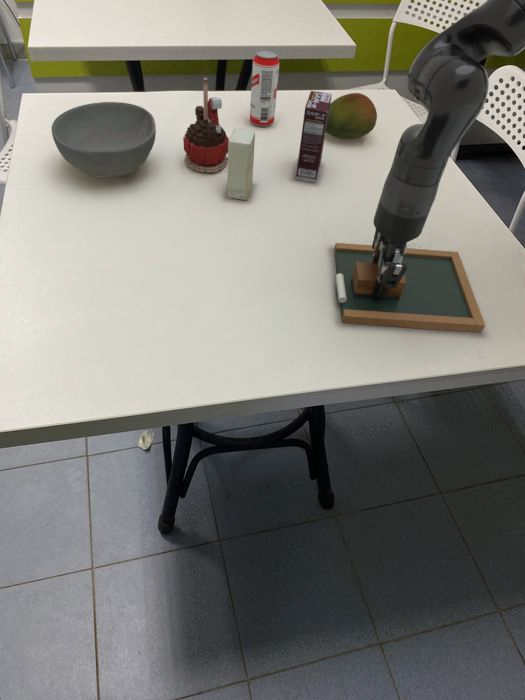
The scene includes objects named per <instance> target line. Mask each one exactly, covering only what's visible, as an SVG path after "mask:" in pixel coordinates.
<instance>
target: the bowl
mask: <svg viewBox="0 0 525 700" xmlns="http://www.w3.org/2000/svg"><path fill="white" fill-rule="evenodd" d="M156 128H157V127H156V122H155V118H154V116H153V114H152V113H151V112H149V111H148V110H147V109H146V108H144V107H142V106H139V105H137V104H133V103H128V102H119V101H101V102H93V103H87V104H82V105H78V106H76V107H72V108H70V109H67V110H65V111H64V112H62V113H61V114H59V115H58V116H57V117H56V118H55V119H54V121H53V122H52V124H51V135H52V139H53V141H54V144H55V147H56V149H57V150H58V152H59V154H60V155H61V156H62V158H63V159H64V160H65V161H66V162H67V163H68V164H69V165H70V166H72V167H73V168H75V169H76V170H78V171H80V172H81V173H84V174H86V175H90V176H93V177H99V178H117V177H122V176H125V175H128V174H130V173H132V172H134V171H136V170H138V169H139V168H140V167H141V166H142V165H144V163H145V162H146V161H147V159H148V157H149V155H150V153H151V151H152V149H153V148H154V143H155V141H156V136H157V135H156V133H157V129H156Z"/></svg>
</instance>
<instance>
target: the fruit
mask: <svg viewBox="0 0 525 700" xmlns="http://www.w3.org/2000/svg"><path fill="white" fill-rule="evenodd" d="M377 120H378V113H377V108H376V106H375V104H374V102H373V101H372V100H371V99H370V97H368V96H367V95H365V94H363V93H360V92H351V93H346V94H343V95H341V96H339V97H337V98H336V99H334V100H332V102H331V103H330V109H329V115H328V121H327V127H326V133H327V134H328V135H329V136H331V137H334V138H337V139H342V140H354V139H355V140H356V139H359V138H363V137H365V136H366V135H369V134H370V133H371V132H372V131H373V130H374V128H375V127H376V125H377Z"/></svg>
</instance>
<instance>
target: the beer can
mask: <svg viewBox="0 0 525 700" xmlns="http://www.w3.org/2000/svg"><path fill="white" fill-rule="evenodd" d="M278 55H279V53H278V52H277V51H275V50H273V49H268V48H261V49H257V50H255V55H254V57H253V58H252V72H251V86H250V87H251V88H250V89H251V91H250V103H249V121H250V122H251V123H252V124H253V125H254V126H256V127H259V128H267V127H270V126H271V125H272V124H273V123H274V122H275V116H276V115H275V114H276V105H277V96H278V85H279V74H280V59H279V57H278Z"/></svg>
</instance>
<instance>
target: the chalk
mask: <svg viewBox="0 0 525 700" xmlns="http://www.w3.org/2000/svg"><path fill="white" fill-rule="evenodd" d="M335 285H336V293H337V300H338V302H339V304H340V303H344V302H346V300H347V297H346V290H345V283H344V276H343V274H341V273H339V274H337V273H336V275H335Z"/></svg>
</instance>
